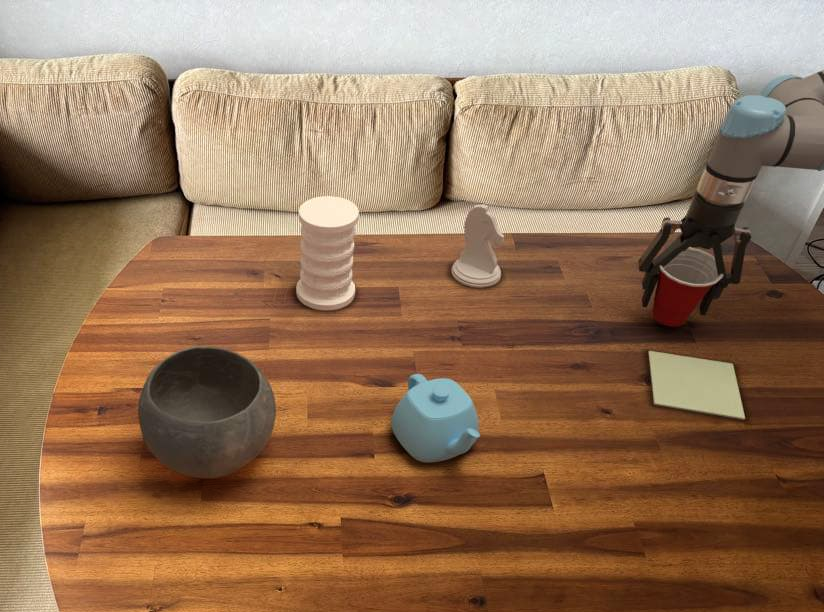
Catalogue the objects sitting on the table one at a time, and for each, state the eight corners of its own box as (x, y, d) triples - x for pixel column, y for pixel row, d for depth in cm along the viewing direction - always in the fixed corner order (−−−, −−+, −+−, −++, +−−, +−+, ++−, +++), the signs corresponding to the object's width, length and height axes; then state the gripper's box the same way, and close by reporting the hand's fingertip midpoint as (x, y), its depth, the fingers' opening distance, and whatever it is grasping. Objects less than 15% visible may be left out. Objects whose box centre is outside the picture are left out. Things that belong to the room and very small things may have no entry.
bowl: (212, 526, 111) (204, 456, 100) (118, 457, 121) (102, 387, 110) (302, 447, 122) (303, 377, 111) (210, 390, 131) (203, 320, 121)
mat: (732, 365, 135) (732, 363, 135) (744, 420, 126) (745, 418, 125) (648, 352, 138) (648, 350, 138) (653, 404, 128) (654, 403, 128)
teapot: (443, 447, 107) (378, 370, 119) (433, 496, 115) (373, 418, 126) (517, 420, 111) (447, 347, 123) (502, 469, 118) (438, 396, 130)
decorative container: (346, 315, 146) (352, 232, 134) (288, 304, 149) (288, 222, 136) (361, 281, 154) (367, 200, 142) (305, 271, 157) (307, 191, 144)
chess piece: (486, 293, 151) (501, 226, 140) (442, 276, 155) (453, 210, 145) (508, 270, 156) (524, 204, 146) (465, 254, 161) (477, 189, 150)
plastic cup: (639, 331, 140) (661, 276, 132) (635, 297, 147) (655, 243, 139) (703, 340, 138) (729, 285, 130) (695, 305, 145) (720, 250, 137)
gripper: (650, 198, 125) (610, 309, 140) (798, 216, 121) (740, 329, 136) (647, 177, 130) (609, 286, 146) (789, 193, 126) (734, 304, 141)
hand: (672, 307), depth 141 cm, fingers closed on plastic cup, 9 cm apart
